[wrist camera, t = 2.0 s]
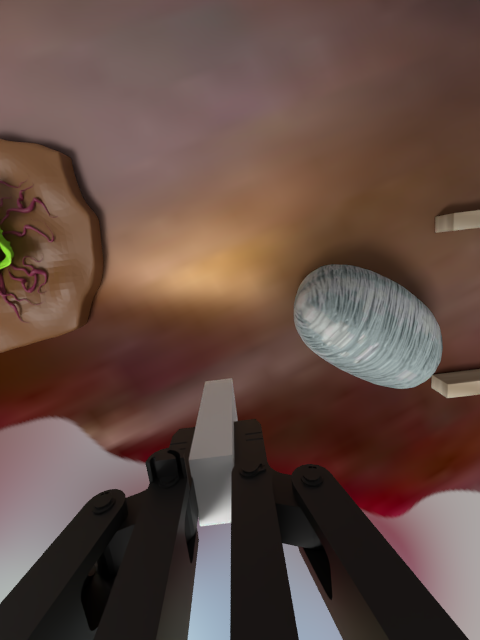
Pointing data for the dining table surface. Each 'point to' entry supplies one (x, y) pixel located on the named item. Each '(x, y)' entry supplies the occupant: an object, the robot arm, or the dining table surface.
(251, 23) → the dining table surface
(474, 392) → the bay
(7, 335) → the plant
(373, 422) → the dining table surface
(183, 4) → the dining table surface
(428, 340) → the streaked grey egg
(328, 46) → the dining table surface
